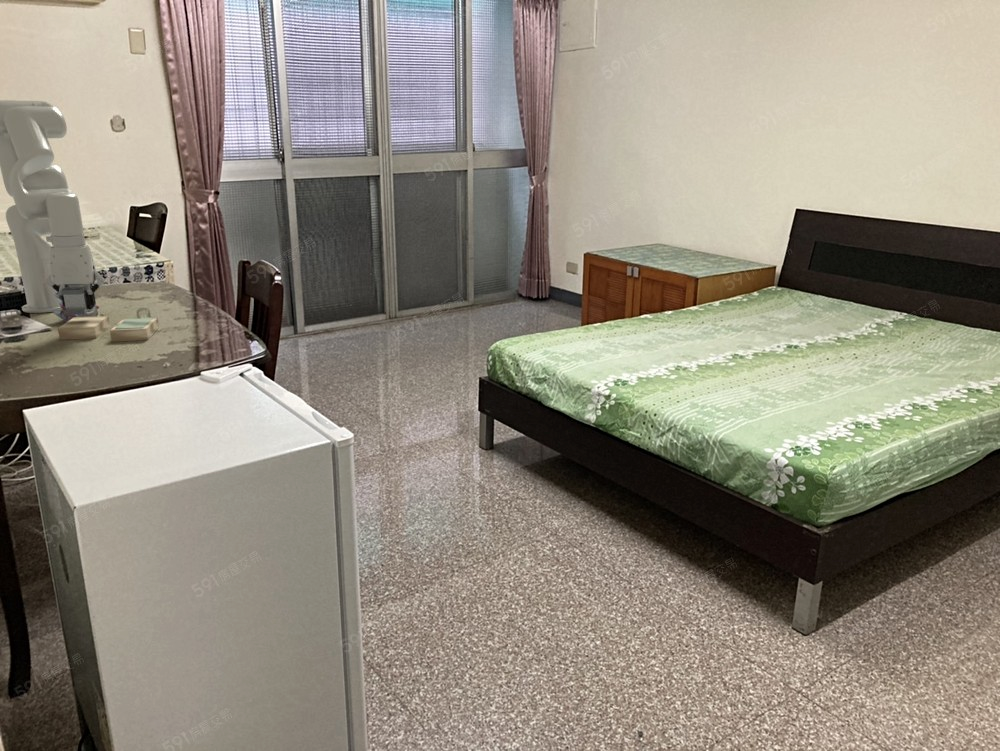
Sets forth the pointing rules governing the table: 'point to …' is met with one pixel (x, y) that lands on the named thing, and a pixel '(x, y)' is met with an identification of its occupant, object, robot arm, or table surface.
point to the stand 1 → (84, 327)
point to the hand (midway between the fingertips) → (80, 307)
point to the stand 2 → (134, 329)
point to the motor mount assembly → (67, 317)
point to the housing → (75, 299)
